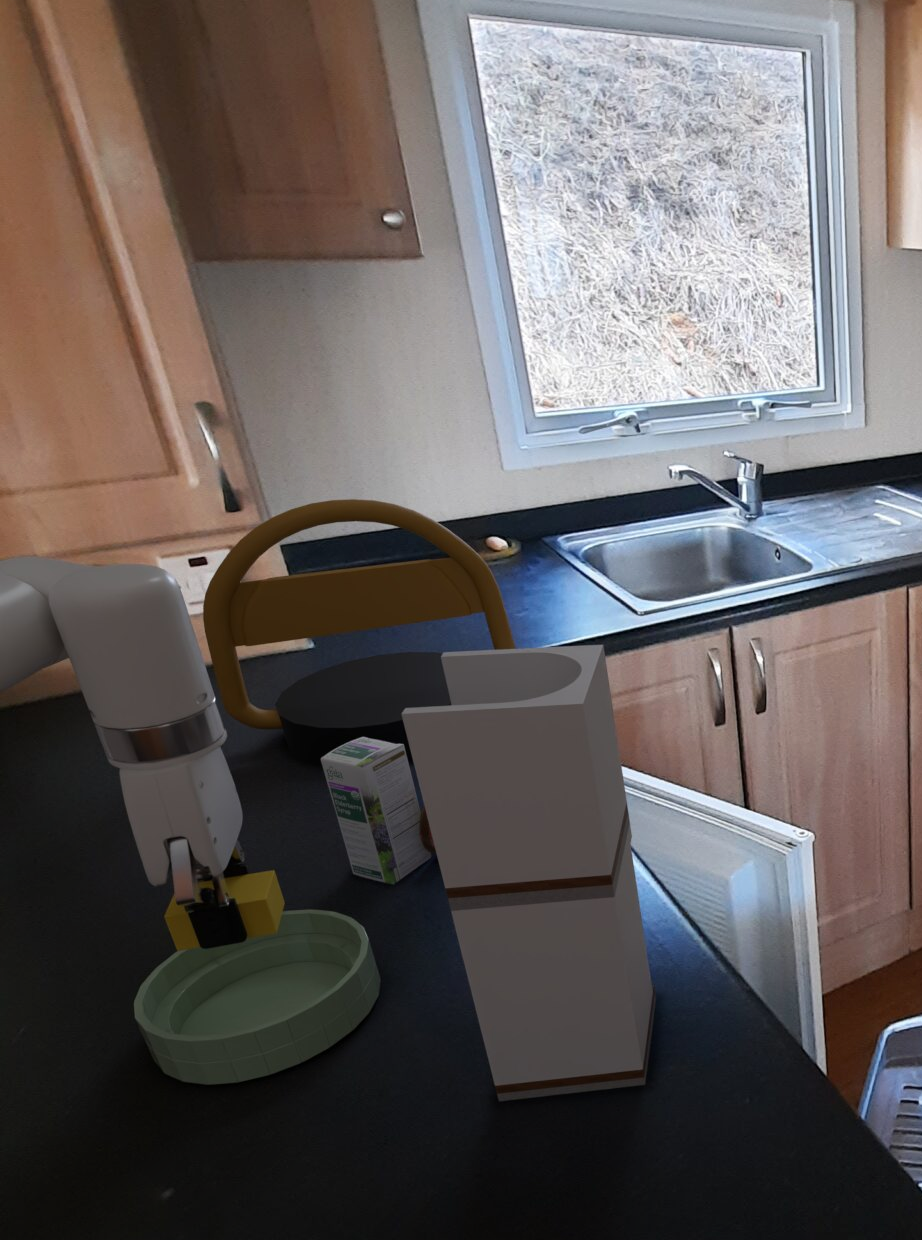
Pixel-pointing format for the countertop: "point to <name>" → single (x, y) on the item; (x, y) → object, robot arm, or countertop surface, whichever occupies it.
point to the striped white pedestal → (539, 866)
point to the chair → (345, 627)
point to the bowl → (259, 999)
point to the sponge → (254, 901)
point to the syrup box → (376, 808)
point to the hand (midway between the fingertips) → (230, 923)
